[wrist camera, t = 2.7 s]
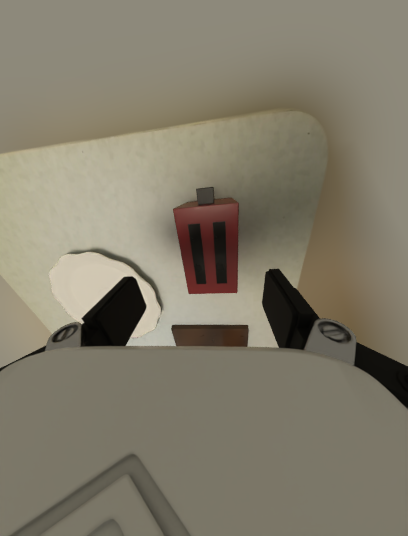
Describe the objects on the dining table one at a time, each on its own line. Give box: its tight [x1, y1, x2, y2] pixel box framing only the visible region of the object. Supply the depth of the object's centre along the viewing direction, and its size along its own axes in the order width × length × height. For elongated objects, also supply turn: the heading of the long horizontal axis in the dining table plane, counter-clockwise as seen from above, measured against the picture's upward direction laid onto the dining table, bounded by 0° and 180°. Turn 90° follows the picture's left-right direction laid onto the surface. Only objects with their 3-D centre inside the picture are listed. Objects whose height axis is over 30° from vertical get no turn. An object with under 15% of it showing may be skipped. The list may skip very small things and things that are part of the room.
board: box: [171, 325, 249, 347], centre depth 34 cm, size 16×14×1 cm
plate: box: [49, 252, 161, 338], centre depth 29 cm, size 21×21×2 cm
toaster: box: [173, 187, 239, 294], centre depth 18 cm, size 6×11×7 cm, turn 6°
